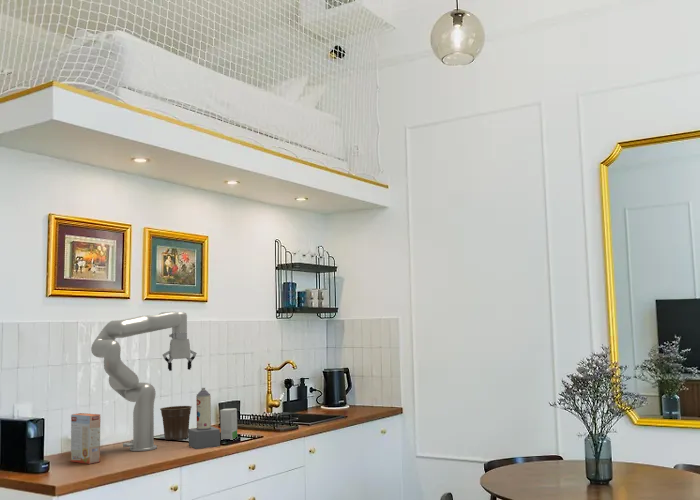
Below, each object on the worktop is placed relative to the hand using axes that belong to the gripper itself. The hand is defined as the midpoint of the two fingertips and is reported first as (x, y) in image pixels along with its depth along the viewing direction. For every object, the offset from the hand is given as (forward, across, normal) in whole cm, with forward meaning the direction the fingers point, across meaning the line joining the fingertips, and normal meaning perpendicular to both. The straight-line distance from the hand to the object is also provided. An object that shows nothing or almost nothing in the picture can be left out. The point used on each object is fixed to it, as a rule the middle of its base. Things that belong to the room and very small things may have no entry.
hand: (179, 370), depth 363 cm
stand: (+36, +7, -18) cm, 41 cm away
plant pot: (+36, +2, +15) cm, 40 cm away
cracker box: (+36, -49, -25) cm, 66 cm away
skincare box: (+36, +23, -8) cm, 44 cm away
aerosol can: (+28, +7, -18) cm, 34 cm away
